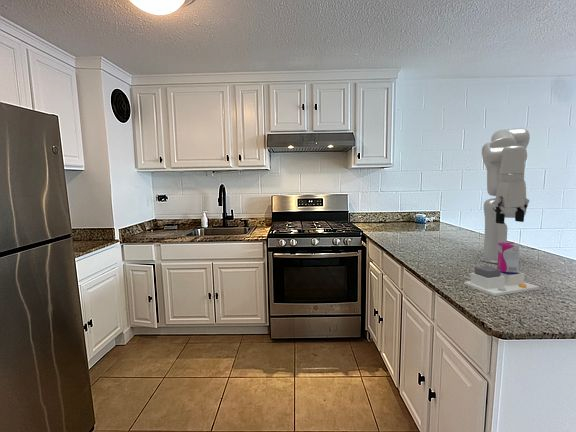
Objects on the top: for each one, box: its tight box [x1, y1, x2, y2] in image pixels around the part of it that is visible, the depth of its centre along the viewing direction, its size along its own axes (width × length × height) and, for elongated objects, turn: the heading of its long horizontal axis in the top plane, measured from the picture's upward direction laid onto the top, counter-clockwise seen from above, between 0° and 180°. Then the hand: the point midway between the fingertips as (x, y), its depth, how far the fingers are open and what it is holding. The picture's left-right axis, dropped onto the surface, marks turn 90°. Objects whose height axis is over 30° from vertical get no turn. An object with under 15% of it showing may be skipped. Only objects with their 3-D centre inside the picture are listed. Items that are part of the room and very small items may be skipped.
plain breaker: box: [474, 265, 501, 278], centre depth 125 cm, size 6×6×4 cm
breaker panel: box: [464, 271, 540, 297], centre depth 125 cm, size 21×14×5 cm, turn 105°
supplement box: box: [496, 241, 520, 274], centre depth 127 cm, size 6×6×12 cm
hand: (509, 222), depth 125 cm, fingers open, 9 cm apart
